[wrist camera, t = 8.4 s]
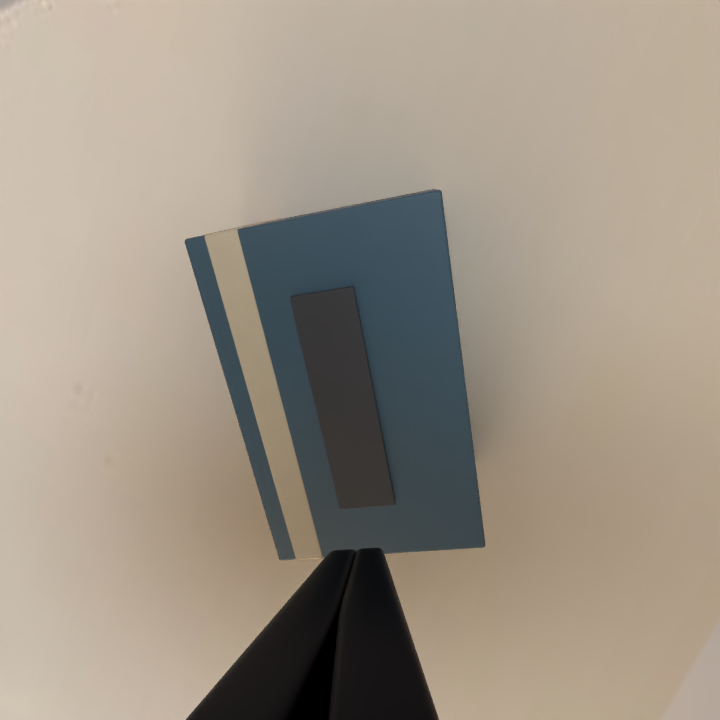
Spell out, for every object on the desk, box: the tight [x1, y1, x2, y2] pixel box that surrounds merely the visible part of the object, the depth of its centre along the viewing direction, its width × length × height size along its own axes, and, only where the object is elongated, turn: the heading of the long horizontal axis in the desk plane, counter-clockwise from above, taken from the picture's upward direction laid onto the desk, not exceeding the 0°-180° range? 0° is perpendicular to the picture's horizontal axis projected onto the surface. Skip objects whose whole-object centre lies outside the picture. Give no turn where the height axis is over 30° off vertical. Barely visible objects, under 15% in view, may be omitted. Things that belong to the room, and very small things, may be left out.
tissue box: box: [185, 189, 485, 560], centre depth 16 cm, size 11×5×7 cm
